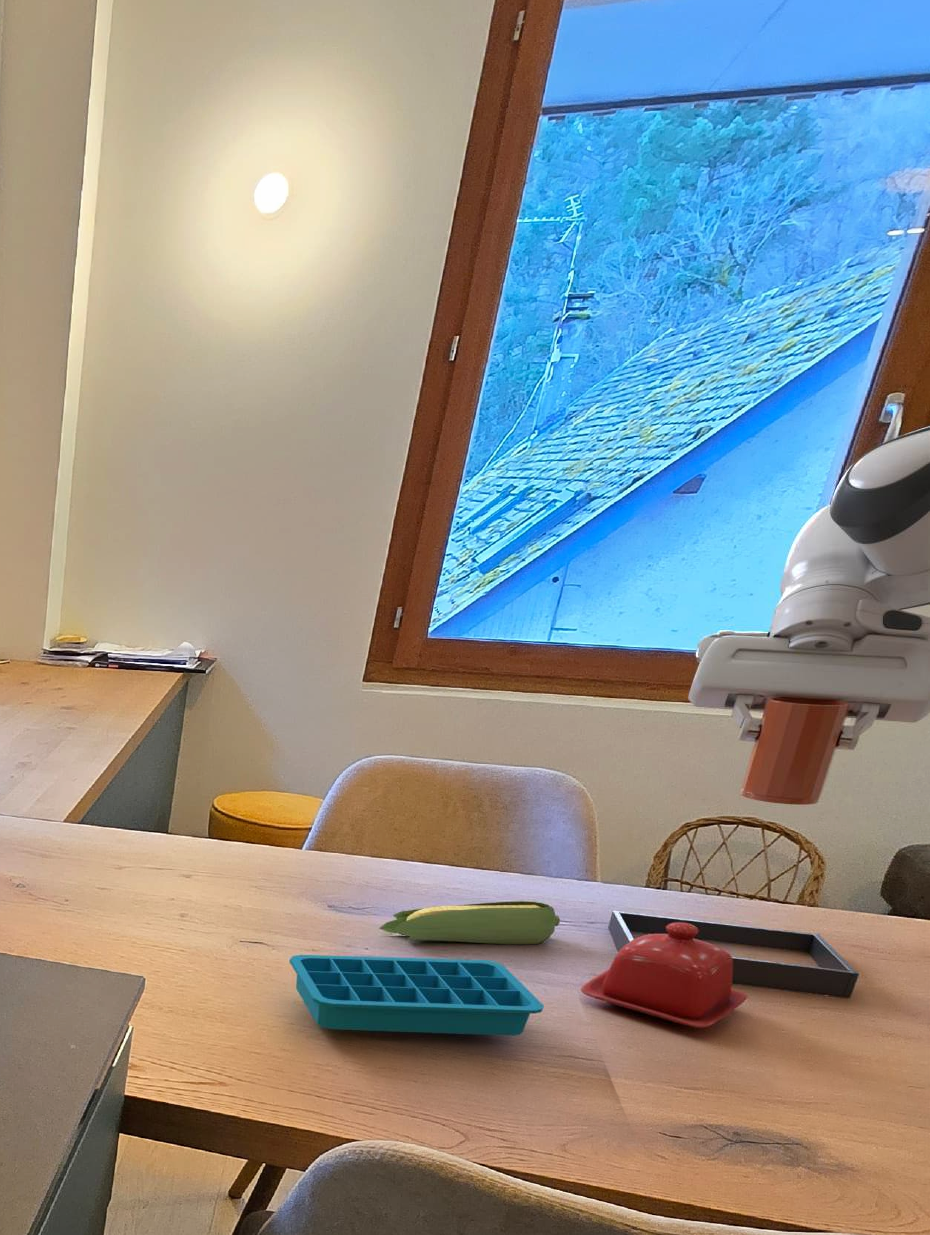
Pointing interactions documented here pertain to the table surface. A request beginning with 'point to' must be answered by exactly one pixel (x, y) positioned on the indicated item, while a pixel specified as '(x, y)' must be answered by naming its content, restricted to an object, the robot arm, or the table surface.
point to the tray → (822, 980)
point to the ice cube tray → (413, 994)
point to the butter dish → (670, 978)
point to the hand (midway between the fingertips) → (796, 741)
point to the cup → (794, 750)
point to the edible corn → (478, 923)
